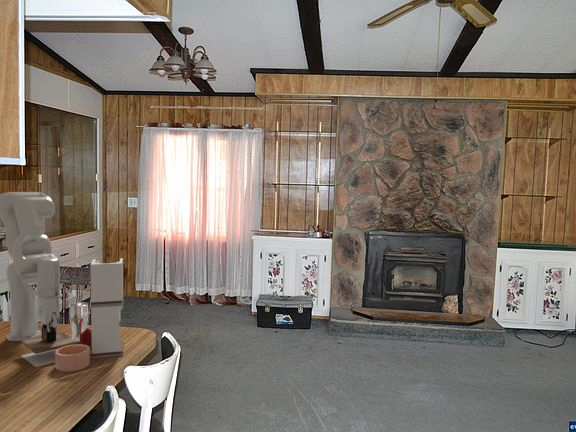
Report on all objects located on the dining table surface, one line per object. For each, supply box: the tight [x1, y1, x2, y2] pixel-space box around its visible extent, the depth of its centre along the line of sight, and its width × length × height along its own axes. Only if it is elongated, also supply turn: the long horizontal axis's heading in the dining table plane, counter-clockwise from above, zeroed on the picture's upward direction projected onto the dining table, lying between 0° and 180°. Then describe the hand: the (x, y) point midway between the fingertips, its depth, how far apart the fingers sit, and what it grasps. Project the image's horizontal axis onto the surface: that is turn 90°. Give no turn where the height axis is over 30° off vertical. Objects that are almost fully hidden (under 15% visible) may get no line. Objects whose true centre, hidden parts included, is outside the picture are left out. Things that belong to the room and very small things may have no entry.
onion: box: [79, 326, 92, 348], centre depth 183 cm, size 6×6×8 cm
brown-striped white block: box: [90, 257, 125, 359], centre depth 177 cm, size 11×11×35 cm
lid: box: [21, 328, 77, 354], centre depth 173 cm, size 14×14×6 cm
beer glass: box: [69, 301, 89, 343], centre depth 190 cm, size 7×7×15 cm
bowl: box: [54, 343, 91, 373], centre depth 164 cm, size 11×11×6 cm
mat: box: [21, 349, 57, 368], centre depth 173 cm, size 15×15×1 cm
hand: (48, 339), depth 173 cm, fingers closed on lid, 4 cm apart
